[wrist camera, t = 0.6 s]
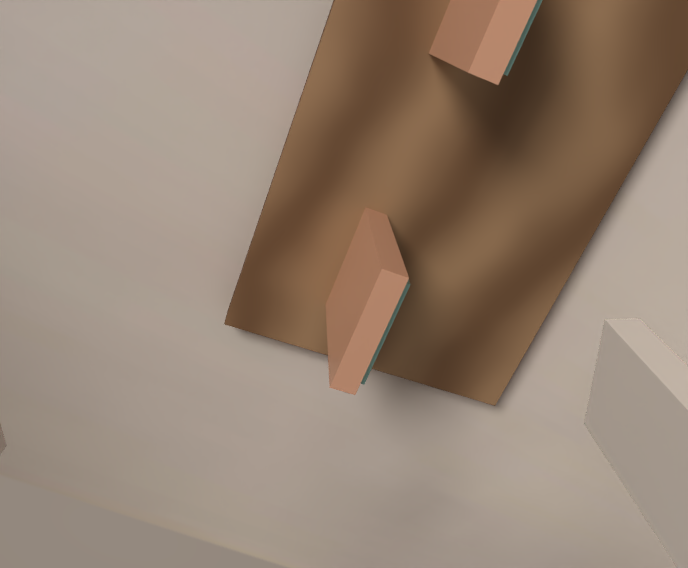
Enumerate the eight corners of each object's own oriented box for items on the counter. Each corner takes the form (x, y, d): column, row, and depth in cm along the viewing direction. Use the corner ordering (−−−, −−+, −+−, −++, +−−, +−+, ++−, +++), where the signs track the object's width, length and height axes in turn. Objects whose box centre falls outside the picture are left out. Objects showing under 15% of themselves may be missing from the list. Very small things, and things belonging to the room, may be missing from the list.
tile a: (325, 304, 34) (329, 387, 27) (365, 207, 32) (381, 268, 25) (350, 313, 35) (361, 396, 27) (392, 216, 32) (416, 280, 25)
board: (227, 311, 36) (224, 324, 35) (404, -206, 26) (409, -217, 25) (488, 391, 39) (495, 405, 38) (732, -43, 29) (753, -45, 28)
